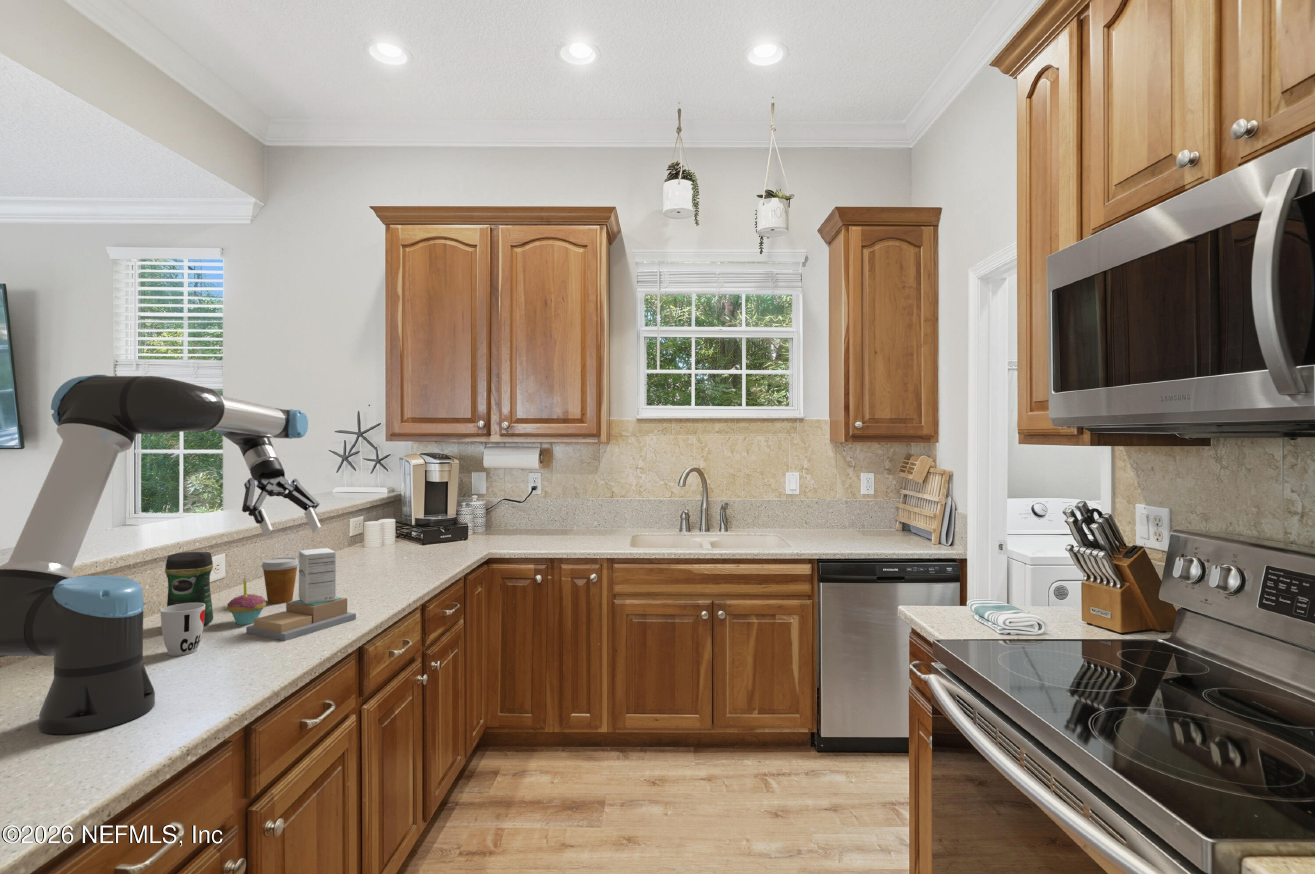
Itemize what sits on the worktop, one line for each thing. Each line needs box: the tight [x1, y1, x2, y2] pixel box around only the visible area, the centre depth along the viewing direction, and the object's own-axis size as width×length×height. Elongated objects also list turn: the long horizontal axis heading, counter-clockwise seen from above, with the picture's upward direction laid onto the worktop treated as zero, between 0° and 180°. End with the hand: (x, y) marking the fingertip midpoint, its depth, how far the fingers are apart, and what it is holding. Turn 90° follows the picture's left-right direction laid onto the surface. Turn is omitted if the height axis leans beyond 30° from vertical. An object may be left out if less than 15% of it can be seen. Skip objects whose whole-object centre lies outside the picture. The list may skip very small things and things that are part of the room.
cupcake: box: [226, 576, 267, 626], centre depth 168 cm, size 9×8×12 cm
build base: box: [245, 596, 357, 642], centre depth 165 cm, size 20×14×6 cm
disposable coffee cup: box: [261, 556, 299, 605], centre depth 189 cm, size 10×10×12 cm
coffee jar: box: [164, 551, 214, 626], centre depth 165 cm, size 10×8×19 cm
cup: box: [159, 603, 205, 657], centre depth 145 cm, size 8×8×10 cm
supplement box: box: [298, 547, 337, 604], centre depth 169 cm, size 7×7×13 cm
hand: (293, 531), depth 169 cm, fingers open, 13 cm apart
